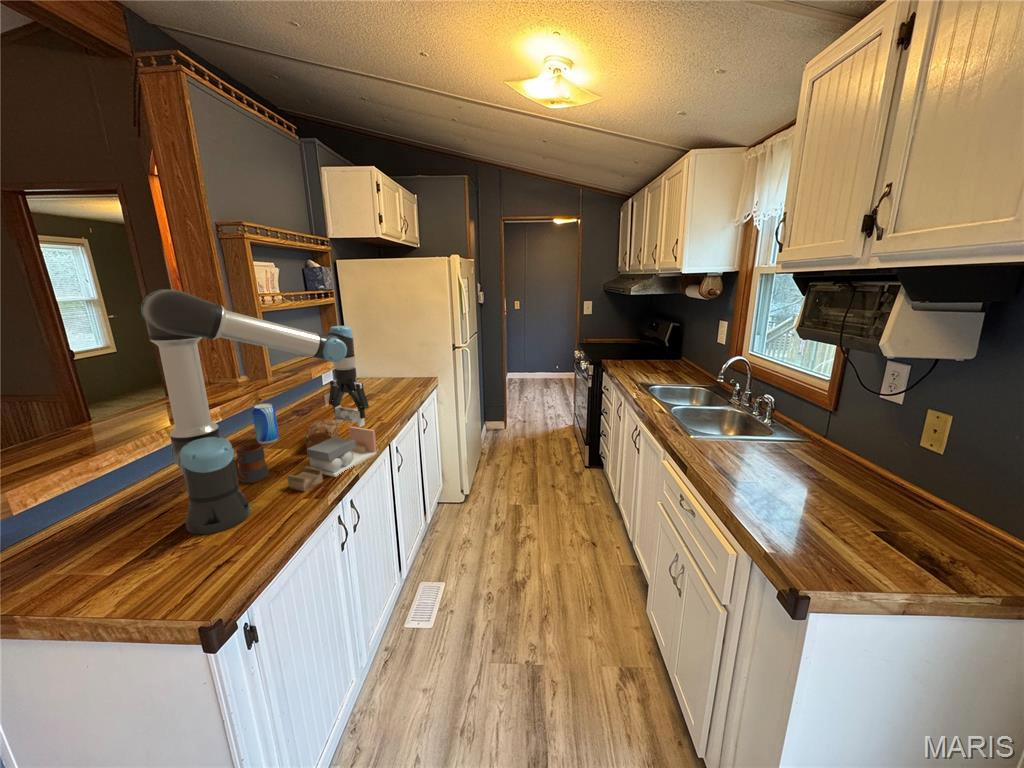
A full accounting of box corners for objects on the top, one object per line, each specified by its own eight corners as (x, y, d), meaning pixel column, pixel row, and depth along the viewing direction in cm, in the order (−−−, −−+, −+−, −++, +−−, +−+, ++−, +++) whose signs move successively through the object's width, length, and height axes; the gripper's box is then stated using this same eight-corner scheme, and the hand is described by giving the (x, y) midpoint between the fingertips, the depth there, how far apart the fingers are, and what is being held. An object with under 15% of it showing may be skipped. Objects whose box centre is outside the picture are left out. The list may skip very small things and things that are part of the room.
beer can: (252, 442, 174) (247, 406, 170) (271, 436, 181) (266, 401, 177) (264, 446, 170) (259, 409, 166) (283, 439, 177) (278, 404, 173)
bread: (334, 452, 165) (331, 429, 163) (305, 454, 162) (302, 431, 160) (339, 435, 182) (337, 414, 180) (313, 438, 180) (311, 416, 177)
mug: (225, 488, 135) (220, 455, 133) (252, 472, 147) (247, 441, 144) (249, 489, 134) (244, 457, 132) (274, 473, 146) (269, 443, 143)
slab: (307, 456, 145) (306, 448, 144) (335, 443, 157) (334, 436, 156) (329, 461, 142) (328, 453, 141) (355, 447, 153) (355, 440, 153)
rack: (304, 491, 133) (303, 479, 132) (289, 487, 136) (287, 475, 135) (322, 481, 140) (321, 469, 139) (307, 477, 143) (306, 466, 142)
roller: (335, 421, 156) (333, 408, 154) (344, 417, 160) (343, 405, 159) (355, 424, 152) (354, 411, 151) (365, 420, 157) (363, 408, 155)
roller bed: (308, 471, 147) (305, 446, 145) (353, 449, 168) (350, 426, 165) (334, 477, 143) (331, 451, 141) (376, 453, 164) (374, 430, 161)
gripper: (376, 368, 150) (380, 424, 156) (329, 363, 158) (335, 417, 164) (362, 372, 144) (367, 431, 149) (313, 367, 152) (320, 423, 157)
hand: (350, 424), depth 157 cm, fingers closed on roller, 10 cm apart
